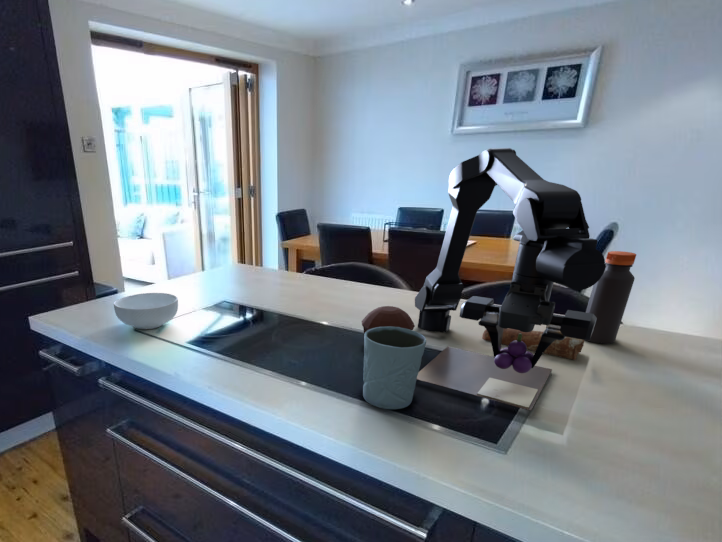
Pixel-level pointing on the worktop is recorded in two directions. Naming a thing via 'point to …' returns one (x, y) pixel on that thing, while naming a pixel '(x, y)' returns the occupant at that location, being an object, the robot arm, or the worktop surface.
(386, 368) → the grey green cup
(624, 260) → the bottle
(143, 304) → the cereal bowl
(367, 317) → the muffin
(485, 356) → the serving board
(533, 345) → the bread
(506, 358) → the grapes
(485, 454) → the worktop surface
